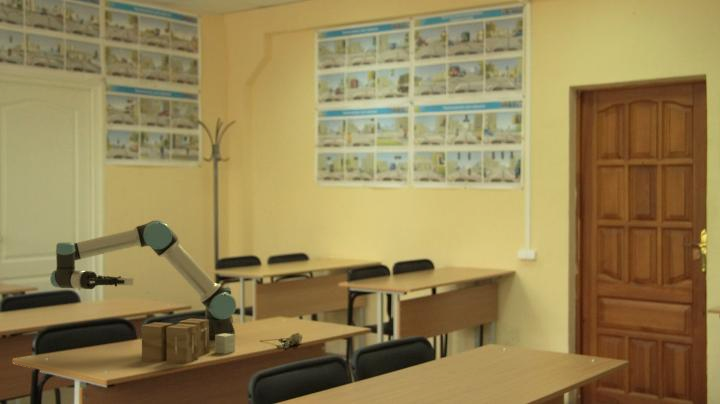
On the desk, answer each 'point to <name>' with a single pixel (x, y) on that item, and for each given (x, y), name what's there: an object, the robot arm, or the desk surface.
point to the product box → (224, 343)
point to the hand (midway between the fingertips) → (132, 281)
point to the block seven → (200, 334)
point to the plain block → (154, 341)
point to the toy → (289, 340)
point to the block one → (182, 343)
